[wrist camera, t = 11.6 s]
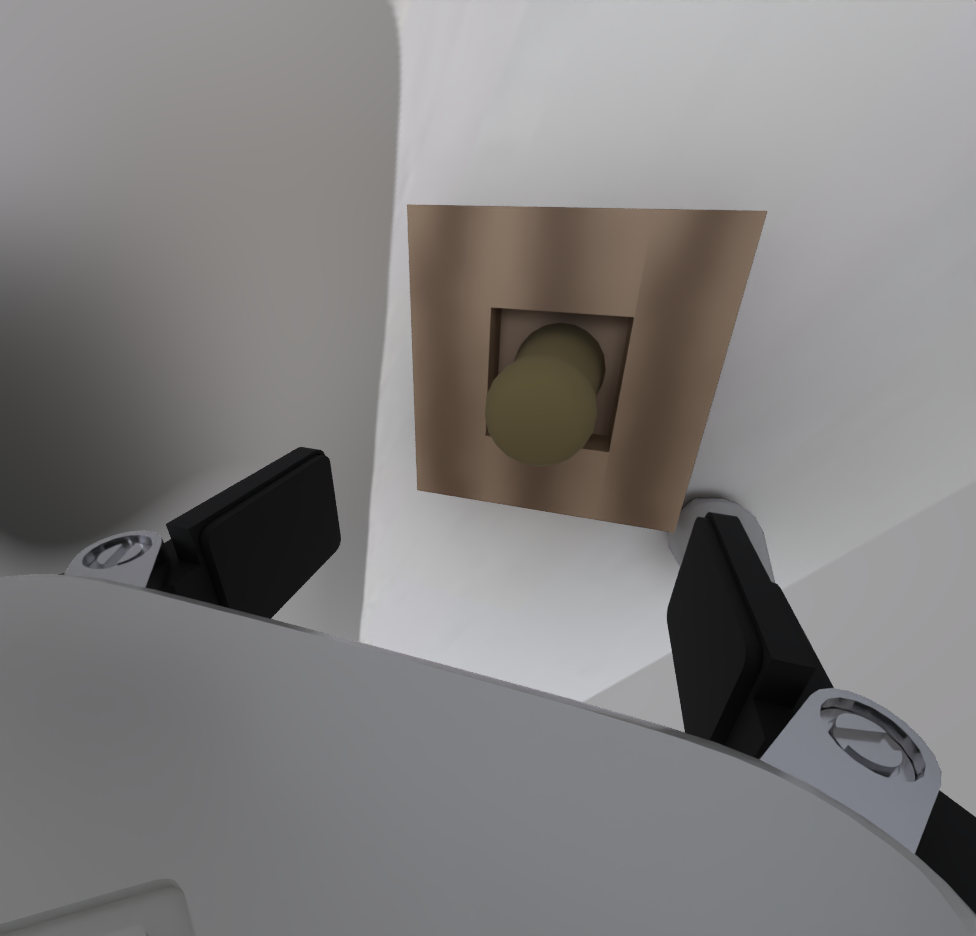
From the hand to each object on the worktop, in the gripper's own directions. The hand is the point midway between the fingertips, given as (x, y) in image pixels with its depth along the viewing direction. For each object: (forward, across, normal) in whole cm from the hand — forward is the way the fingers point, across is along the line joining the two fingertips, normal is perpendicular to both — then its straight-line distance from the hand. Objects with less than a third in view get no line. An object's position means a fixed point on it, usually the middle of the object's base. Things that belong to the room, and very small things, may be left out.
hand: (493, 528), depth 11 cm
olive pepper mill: (+20, 0, 0) cm, 20 cm away
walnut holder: (+20, 0, 0) cm, 20 cm away
